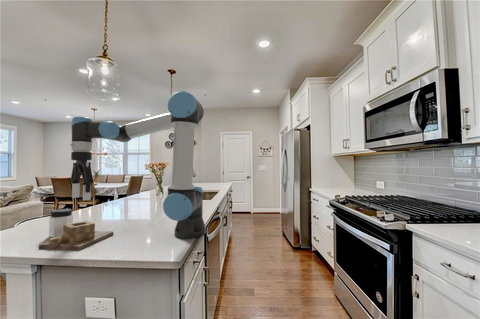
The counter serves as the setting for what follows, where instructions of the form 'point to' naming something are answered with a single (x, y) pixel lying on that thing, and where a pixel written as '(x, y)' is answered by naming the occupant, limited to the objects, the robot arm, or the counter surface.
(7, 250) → the counter surface
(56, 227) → the jar
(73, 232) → the wooden square frame
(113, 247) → the counter surface
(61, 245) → the jig
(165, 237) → the counter surface
